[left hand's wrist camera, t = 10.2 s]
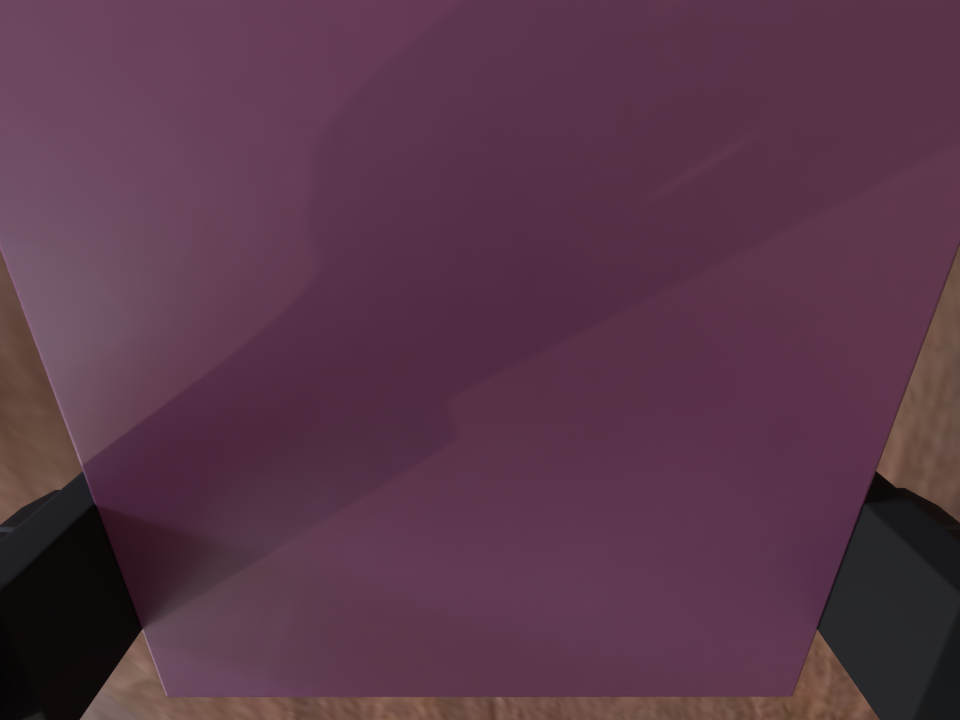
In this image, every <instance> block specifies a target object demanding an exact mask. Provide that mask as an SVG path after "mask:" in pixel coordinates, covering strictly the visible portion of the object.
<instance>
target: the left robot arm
mask: <svg viewBox="0 0 960 720" xmlns="http://www.w3.org/2000/svg"><path fill="white" fill-rule="evenodd" d="M817 629H818V631H819V632H820V634H821V635H822V637H823V638H824V640H825V641H826V642H827V644H828V645H829V647H830V648H831V650H832V651H833V653H834V654H835V655H836V657H837V658H838V660H839V661H840V663H841V664H842V666H843V667H844V669H845V670H846V671H847V673H848V674H849V676H850V677H851V679H852V680H853V682H854V683H855V684H856V686H857V687H858V689H859V690H860V692H861V693H862V695H863V696H864V697H865V699H866V700H867V702H868V703H869V705H870V706H871V708H872V709H873V710H874V712H875V713H876V715H877V716H878V718H879V719H880V720H960V523H959V522H958V521H957V520H955V519H954V518H953V517H952V516H950V515H949V514H948V513H947V512H945V511H944V510H943V509H942V508H940V507H939V506H938V505H936V504H934V503H932V502H930V501H928V500H926V499H924V498H923V497H921V496H919V495H917V494H915V493H913V492H911V491H909V490H907V489H905V488H896V487H894V486H893V485H892V484H891V483H890V482H888V481H887V480H886V479H885V478H884V477H882V476H881V475H880V474H879V473H878V472H875V475H874V477H873V480H872V483H871V486H870V488H869V491H868V494H867V496H866V499H865V502H864V504H863V507H862V510H861V512H860V515H859V518H858V521H857V523H856V526H855V529H854V531H853V534H852V537H851V539H850V542H849V545H848V547H847V550H846V553H845V556H844V558H843V561H842V564H841V566H840V569H839V572H838V574H837V577H836V580H835V583H834V585H833V588H832V591H831V593H830V596H829V599H828V601H827V604H826V607H825V609H824V612H823V615H822V618H821V620H820V623H819V626H818V628H817ZM141 630H142V629H141V626H140V623H139V621H138V618H137V615H136V613H135V610H134V607H133V605H132V602H131V599H130V596H129V594H128V591H127V588H126V586H125V583H124V580H123V578H122V575H121V572H120V570H119V567H118V564H117V561H116V559H115V556H114V553H113V551H112V548H111V545H110V543H109V540H108V537H107V535H106V532H105V529H104V526H103V524H102V521H101V518H100V516H99V513H98V510H97V508H96V505H95V502H94V500H93V497H92V494H91V491H90V489H89V486H88V483H87V481H86V478H85V475H84V473H83V472H82V473H80V474H79V475H78V476H77V477H76V478H74V479H73V480H72V481H71V482H70V483H68V484H67V485H66V486H65V487H64V488H62V489H61V490H55V491H53V492H51V493H49V494H47V495H45V496H43V497H41V498H39V499H38V500H36V501H34V502H32V503H30V504H28V505H26V506H24V507H22V508H21V509H20V510H19V511H17V512H16V513H15V514H14V515H12V516H11V517H10V518H9V519H7V520H6V521H5V522H4V523H2V524H1V525H0V720H80V718H81V717H82V715H83V714H84V712H85V711H86V710H87V708H88V707H89V705H90V704H91V702H92V701H93V699H94V698H95V697H96V695H97V694H98V692H99V691H100V689H101V688H102V686H103V685H104V684H105V682H106V681H107V679H108V678H109V676H110V675H111V673H112V672H113V671H114V669H115V668H116V666H117V665H118V663H119V662H120V660H121V659H122V657H123V656H124V655H125V653H126V652H127V650H128V649H129V647H130V646H131V644H132V643H133V642H134V640H135V639H136V637H137V636H138V634H139V633H140V631H141Z"/></svg>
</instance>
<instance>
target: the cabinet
mask: <svg viewBox="0 0 960 720" xmlns="http://www.w3.org/2000/svg"><path fill="white" fill-rule="evenodd" d="M959 246H960V0H0V249H1V252H2V255H3V257H4V260H5V263H6V265H7V268H8V271H9V273H10V276H11V279H12V282H13V284H14V287H15V290H16V292H17V295H18V298H19V300H20V303H21V306H22V308H23V311H24V314H25V316H26V319H27V322H28V325H29V327H30V330H31V333H32V335H33V338H34V341H35V343H36V346H37V349H38V351H39V354H40V357H41V360H42V362H43V365H44V368H45V370H46V373H47V376H48V378H49V381H50V384H51V386H52V389H53V392H54V395H55V397H56V400H57V403H58V405H59V408H60V411H61V413H62V416H63V419H64V421H65V424H66V427H67V430H68V432H69V435H70V438H71V440H72V443H73V446H74V448H75V451H76V454H77V456H78V459H79V462H80V465H81V467H82V470H83V473H84V475H85V478H86V481H87V483H88V486H89V489H90V491H91V494H92V497H93V500H94V502H95V505H96V508H97V510H98V513H99V516H100V518H101V521H102V524H103V526H104V529H105V532H106V535H107V537H108V540H109V543H110V545H111V548H112V551H113V553H114V556H115V559H116V561H117V564H118V567H119V570H120V572H121V575H122V578H123V580H124V583H125V586H126V588H127V591H128V594H129V596H130V599H131V602H132V605H133V607H134V610H135V613H136V615H137V618H138V621H139V623H140V626H141V629H142V631H143V634H144V637H145V640H146V642H147V645H148V648H149V650H150V653H151V656H152V658H153V661H154V664H155V666H156V669H157V672H158V675H159V677H160V680H161V683H162V685H163V688H164V691H165V693H166V695H167V696H168V697H790V696H792V695H793V693H794V690H795V688H796V685H797V682H798V680H799V677H800V674H801V671H802V669H803V666H804V663H805V661H806V658H807V655H808V653H809V650H810V647H811V645H812V642H813V639H814V636H815V634H816V631H817V628H818V626H819V623H820V620H821V618H822V615H823V612H824V609H825V607H826V604H827V601H828V599H829V596H830V593H831V591H832V588H833V585H834V583H835V580H836V577H837V574H838V572H839V569H840V566H841V564H842V561H843V558H844V556H845V553H846V550H847V547H848V545H849V542H850V539H851V537H852V534H853V531H854V529H855V526H856V523H857V521H858V518H859V515H860V512H861V510H862V507H863V504H864V502H865V499H866V496H867V494H868V491H869V488H870V486H871V483H872V480H873V477H874V475H875V472H876V469H877V467H878V464H879V461H880V459H881V456H882V453H883V450H884V448H885V445H886V442H887V440H888V437H889V434H890V432H891V429H892V426H893V424H894V421H895V418H896V415H897V413H898V410H899V407H900V405H901V402H902V399H903V397H904V394H905V391H906V388H907V386H908V383H909V380H910V378H911V375H912V372H913V370H914V367H915V364H916V362H917V359H918V356H919V353H920V351H921V348H922V345H923V343H924V340H925V337H926V335H927V332H928V329H929V327H930V324H931V321H932V318H933V316H934V313H935V310H936V308H937V305H938V302H939V300H940V297H941V294H942V291H943V289H944V286H945V283H946V281H947V278H948V275H949V273H950V270H951V267H952V265H953V262H954V259H955V256H956V254H957V251H958V248H959Z"/></svg>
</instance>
